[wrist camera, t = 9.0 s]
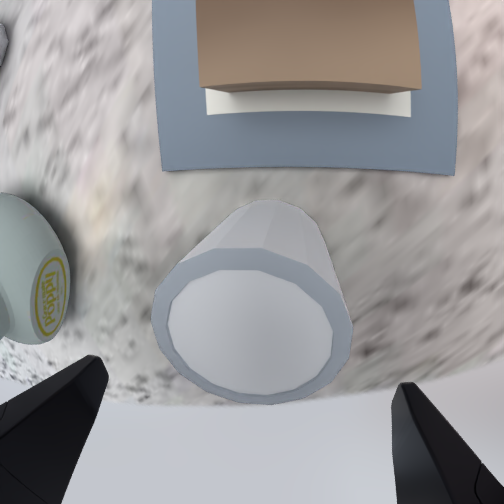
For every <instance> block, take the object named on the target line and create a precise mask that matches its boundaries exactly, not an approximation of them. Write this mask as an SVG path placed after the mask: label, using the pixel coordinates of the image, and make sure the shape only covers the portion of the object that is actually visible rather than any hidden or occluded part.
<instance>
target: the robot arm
mask: <svg viewBox="0 0 504 504" xmlns="http://www.w3.org/2000/svg"><path fill="white" fill-rule="evenodd" d="M108 380H109V375H108V372H107V370H106V368H105V366H104V363H103V361H102V359H101V358H100V357H98V356H94V355H87V356H85V357H84V358H82V359H80V360H78V361H77V362H75V363H73V364H72V365H70V366H68V367H66V368H65V369H63V370H61V371H59V372H58V373H56V374H54V375H52V376H51V377H49V378H47V379H45V380H44V381H42V382H40V383H38V384H37V385H35V386H33V387H31V388H30V389H28V390H26V391H24V392H23V393H21V394H19V395H17V396H16V397H14V398H12V399H10V400H9V401H8V402H5V403H3V404H2V405H0V504H61V503H62V500H63V497H64V495H65V492H66V489H67V487H68V484H69V482H70V479H71V476H72V474H73V471H74V469H75V466H76V464H77V461H78V459H79V457H80V454H81V452H82V449H83V447H84V445H85V442H86V440H87V438H88V435H89V433H90V431H91V428H92V426H93V424H94V421H95V419H96V416H97V413H98V411H99V407H100V404H101V401H102V398H103V395H104V392H105V389H106V386H107V383H108ZM391 410H392V455H393V465H394V474H395V484H396V495H397V504H504V487H503V486H502V485H501V484H500V483H499V482H498V480H497V479H496V478H495V477H494V476H493V475H492V474H491V472H490V471H489V470H488V469H487V468H486V466H485V465H484V464H483V463H482V464H481V460H480V459H479V458H478V457H477V455H476V454H475V453H474V452H473V451H472V449H471V448H470V447H469V446H468V445H467V443H466V442H465V441H464V440H463V439H462V438H461V436H460V435H459V434H458V433H457V432H456V430H455V429H454V428H453V427H452V426H451V424H450V423H449V422H448V421H447V420H446V419H445V417H444V416H443V415H442V414H441V413H440V412H439V411H438V409H437V408H436V407H435V406H434V405H433V404H432V402H431V401H430V400H429V399H428V398H427V397H426V395H425V394H424V393H423V392H422V391H421V390H420V389H419V387H418V386H417V385H416V384H415V383H413V382H403V383H400V384H399V385H398V388H397V390H396V393H395V395H394V398H393V400H392V405H391Z"/></svg>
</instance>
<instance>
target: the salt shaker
mask: <svg viewBox="0 0 504 504" xmlns="http://www.w3.org/2000/svg"><path fill="white" fill-rule="evenodd" d="M7 45H8V38H7V35H6V31H5V27H4V25H2V24H1V23H0V67H1V65H2V61H3V58H4V55H5V51H6V48H7Z"/></svg>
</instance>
